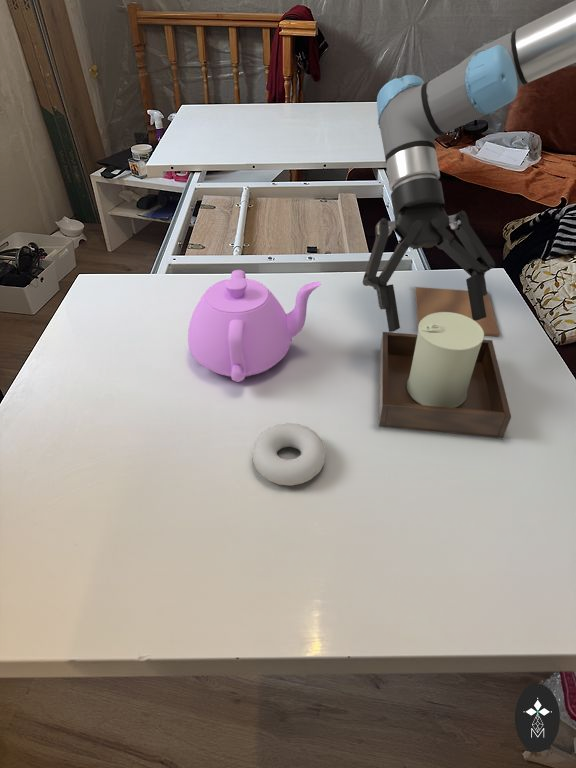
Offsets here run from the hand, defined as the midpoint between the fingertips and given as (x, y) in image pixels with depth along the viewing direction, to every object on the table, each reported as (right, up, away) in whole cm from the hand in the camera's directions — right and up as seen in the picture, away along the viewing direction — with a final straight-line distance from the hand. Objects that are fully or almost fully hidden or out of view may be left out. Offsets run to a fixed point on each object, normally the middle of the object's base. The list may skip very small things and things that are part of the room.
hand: (437, 324), depth 79 cm
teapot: (-28, -4, +12) cm, 31 cm away
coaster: (+9, +5, +21) cm, 23 cm away
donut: (-22, -20, -6) cm, 30 cm away
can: (+1, -10, +4) cm, 11 cm away
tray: (+1, -10, +4) cm, 11 cm away
